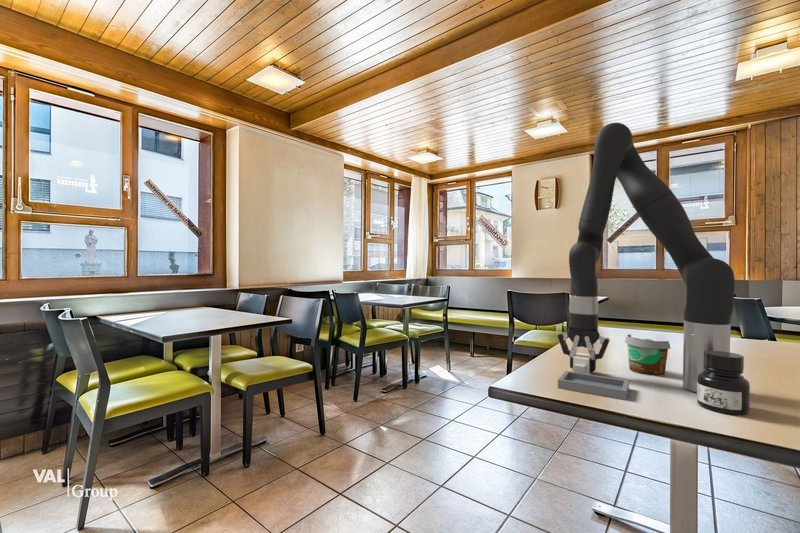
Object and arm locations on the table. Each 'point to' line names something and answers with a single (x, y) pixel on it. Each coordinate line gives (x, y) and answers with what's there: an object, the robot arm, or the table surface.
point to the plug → (581, 363)
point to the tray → (594, 384)
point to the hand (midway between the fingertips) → (582, 370)
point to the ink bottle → (723, 383)
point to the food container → (647, 355)
